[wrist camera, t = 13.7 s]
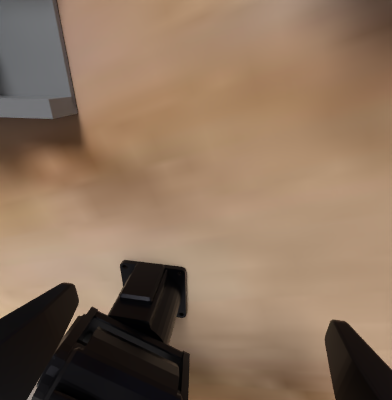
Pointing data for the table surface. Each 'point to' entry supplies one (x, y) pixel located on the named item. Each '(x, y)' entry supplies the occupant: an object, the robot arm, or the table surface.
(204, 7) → the table surface
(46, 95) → the pusher lane
